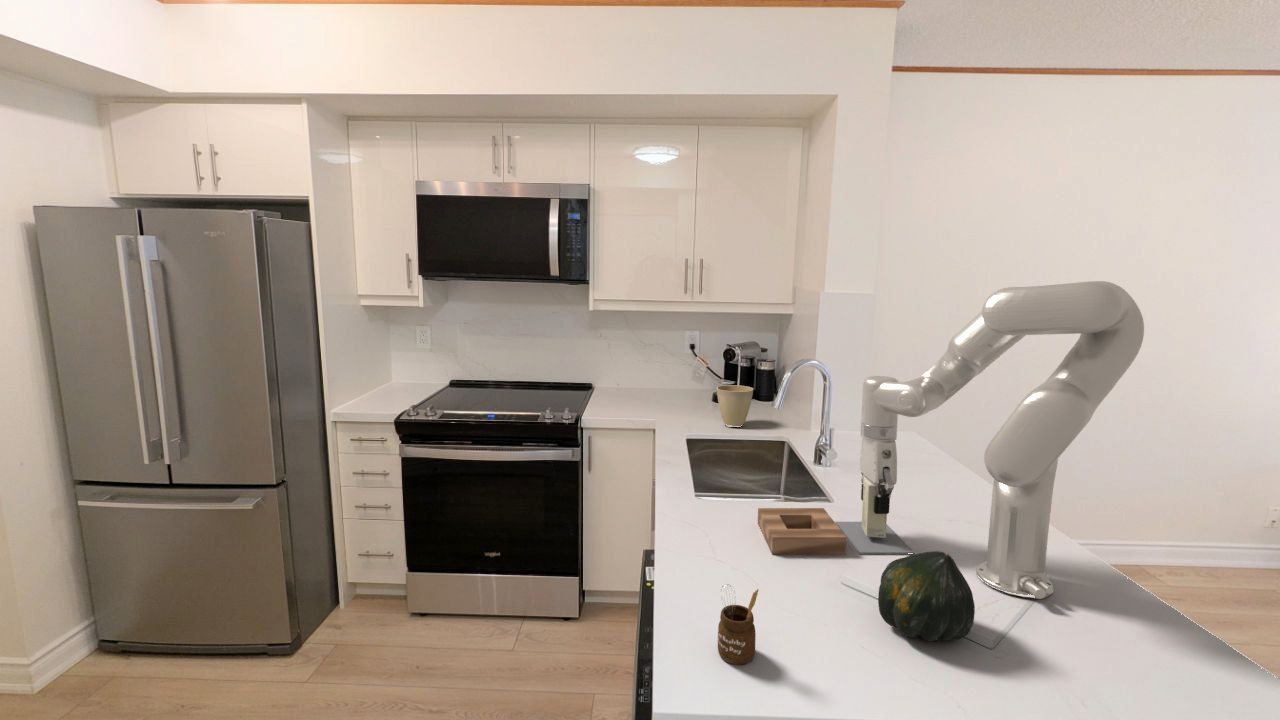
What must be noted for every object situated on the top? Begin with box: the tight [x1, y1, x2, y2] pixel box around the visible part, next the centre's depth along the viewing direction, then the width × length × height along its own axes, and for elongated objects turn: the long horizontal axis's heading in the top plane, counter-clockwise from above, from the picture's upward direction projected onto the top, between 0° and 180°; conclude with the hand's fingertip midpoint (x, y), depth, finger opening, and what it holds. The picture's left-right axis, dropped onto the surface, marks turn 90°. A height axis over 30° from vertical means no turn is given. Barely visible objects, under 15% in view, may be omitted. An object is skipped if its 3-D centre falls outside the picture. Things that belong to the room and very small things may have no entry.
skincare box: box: [861, 477, 888, 538], centre depth 130 cm, size 6×4×12 cm
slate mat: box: [834, 521, 916, 556], centre depth 132 cm, size 16×12×1 cm
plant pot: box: [716, 384, 754, 426], centre depth 233 cm, size 15×15×16 cm
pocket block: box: [757, 507, 847, 556], centre depth 131 cm, size 16×16×4 cm
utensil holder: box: [717, 583, 759, 665], centre depth 90 cm, size 6×6×12 cm
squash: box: [877, 550, 976, 642], centre depth 96 cm, size 14×15×15 cm
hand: (874, 506), depth 130 cm, fingers closed on skincare box, 6 cm apart
